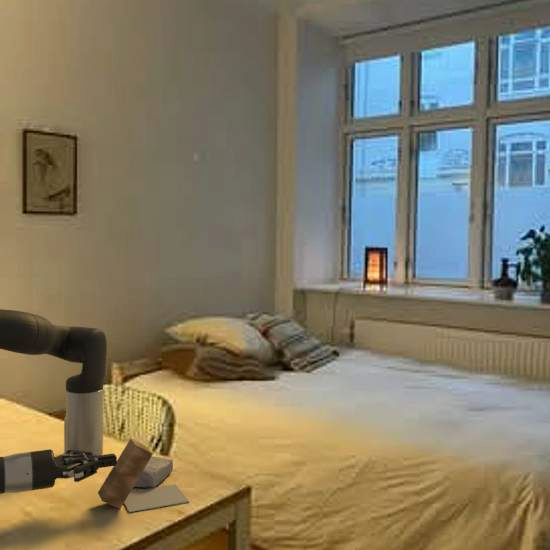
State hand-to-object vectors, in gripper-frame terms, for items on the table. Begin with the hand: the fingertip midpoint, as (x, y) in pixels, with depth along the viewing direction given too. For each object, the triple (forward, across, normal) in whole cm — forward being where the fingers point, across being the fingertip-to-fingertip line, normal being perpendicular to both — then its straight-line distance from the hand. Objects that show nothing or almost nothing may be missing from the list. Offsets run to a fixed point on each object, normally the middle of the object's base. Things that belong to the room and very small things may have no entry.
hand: (115, 459), depth 135 cm
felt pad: (+8, 0, +10) cm, 13 cm away
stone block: (+10, +12, +10) cm, 18 cm away
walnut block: (-1, 0, +9) cm, 9 cm away
